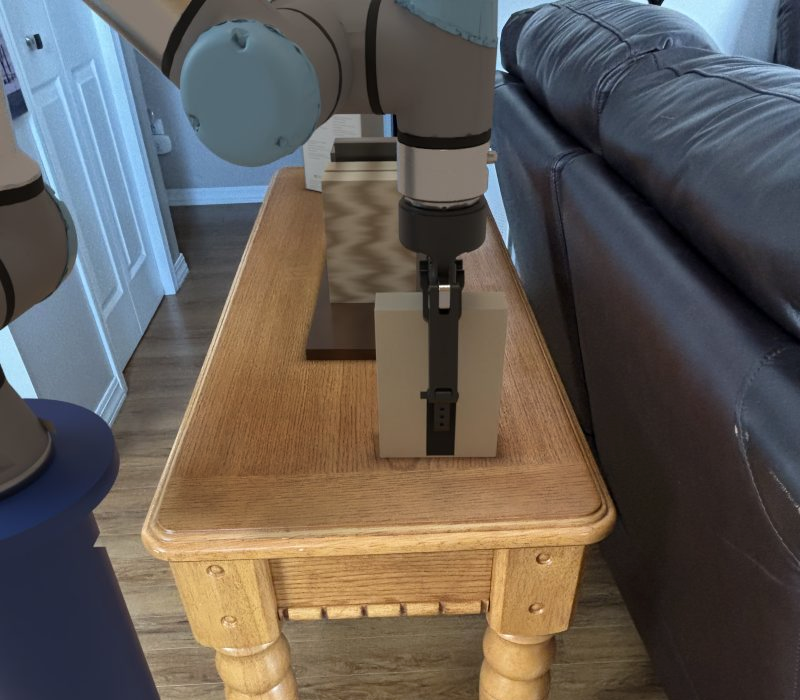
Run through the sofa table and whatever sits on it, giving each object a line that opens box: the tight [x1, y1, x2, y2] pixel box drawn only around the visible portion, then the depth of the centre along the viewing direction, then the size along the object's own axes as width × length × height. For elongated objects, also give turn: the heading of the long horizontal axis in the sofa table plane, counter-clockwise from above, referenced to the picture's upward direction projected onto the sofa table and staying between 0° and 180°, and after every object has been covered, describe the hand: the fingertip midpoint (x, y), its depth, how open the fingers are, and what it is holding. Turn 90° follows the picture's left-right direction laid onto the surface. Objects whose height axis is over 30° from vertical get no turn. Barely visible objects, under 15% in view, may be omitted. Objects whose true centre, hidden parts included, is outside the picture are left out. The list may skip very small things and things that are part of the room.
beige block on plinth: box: [304, 136, 426, 361], centre depth 102 cm, size 16×40×20 cm, turn 179°
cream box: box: [375, 291, 509, 459], centre depth 73 cm, size 12×4×16 cm, turn 89°
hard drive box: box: [301, 114, 385, 193], centre depth 143 cm, size 16×8×20 cm, turn 56°
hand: (438, 419), depth 76 cm, fingers open, 12 cm apart
